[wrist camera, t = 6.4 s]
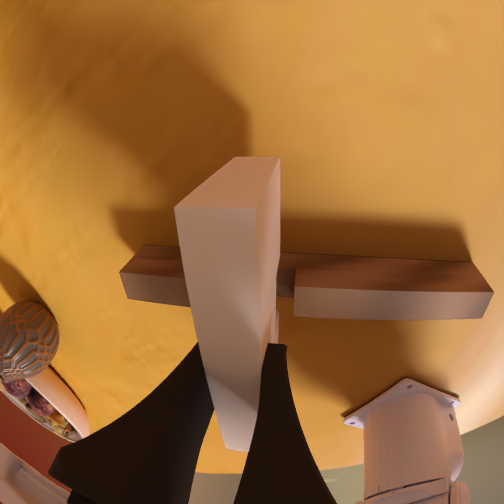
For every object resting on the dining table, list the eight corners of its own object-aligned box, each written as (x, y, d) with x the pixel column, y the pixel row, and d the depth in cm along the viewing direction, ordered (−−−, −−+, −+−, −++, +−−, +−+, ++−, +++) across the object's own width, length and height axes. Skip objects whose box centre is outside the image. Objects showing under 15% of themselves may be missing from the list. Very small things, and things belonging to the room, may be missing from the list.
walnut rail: (472, 262, 14) (494, 292, 11) (463, 287, 15) (481, 318, 12) (144, 245, 17) (119, 272, 15) (149, 270, 18) (127, 298, 15)
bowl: (76, 429, 46) (62, 455, 39) (-24, 337, 39) (-42, 360, 32) (123, 413, 32) (101, 459, 26) (-32, 264, 25) (-67, 296, 18)
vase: (18, 279, 22) (-35, 332, 15) (65, 311, 23) (11, 377, 15) (28, 322, 26) (-13, 372, 18) (72, 351, 26) (32, 409, 19)
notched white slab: (277, 365, 17) (262, 454, 12) (247, 362, 17) (225, 448, 12) (280, 156, 11) (255, 208, 6) (235, 156, 11) (174, 207, 6)
